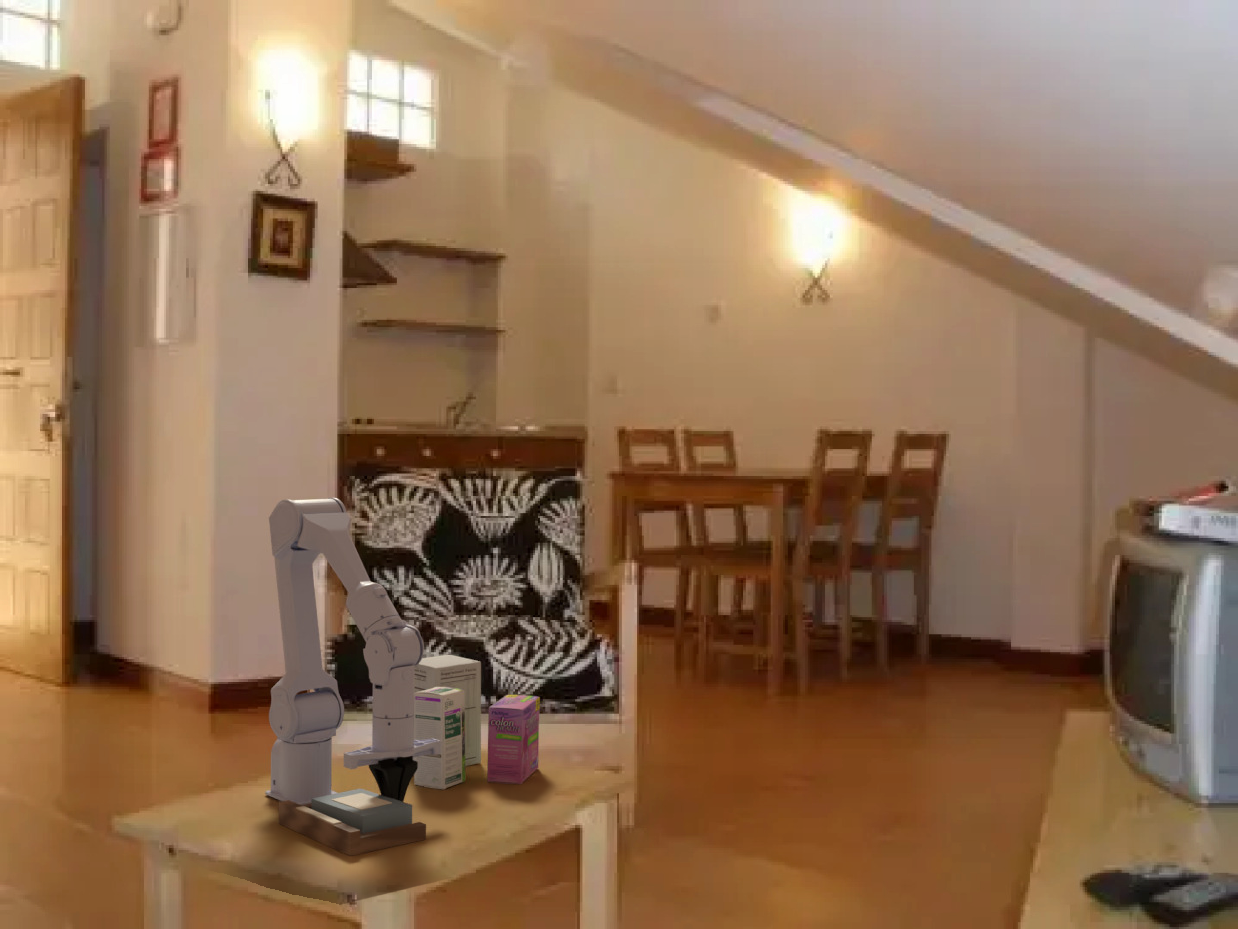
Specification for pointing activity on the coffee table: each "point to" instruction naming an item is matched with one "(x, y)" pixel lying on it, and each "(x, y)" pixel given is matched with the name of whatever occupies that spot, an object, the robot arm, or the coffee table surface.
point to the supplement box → (462, 677)
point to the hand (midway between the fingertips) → (392, 812)
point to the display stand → (345, 830)
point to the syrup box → (440, 736)
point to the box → (513, 739)
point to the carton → (364, 810)
